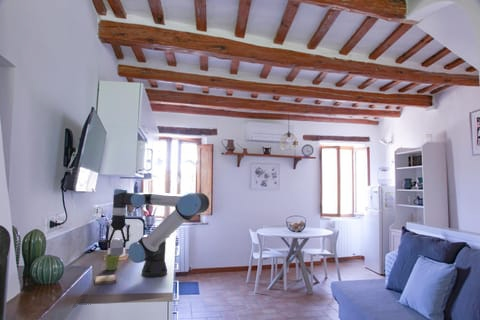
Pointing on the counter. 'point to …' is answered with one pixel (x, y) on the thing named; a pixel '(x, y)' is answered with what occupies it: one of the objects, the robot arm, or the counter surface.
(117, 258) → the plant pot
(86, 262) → the counter surface
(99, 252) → the counter surface
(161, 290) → the counter surface
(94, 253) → the counter surface
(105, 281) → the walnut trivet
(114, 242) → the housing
